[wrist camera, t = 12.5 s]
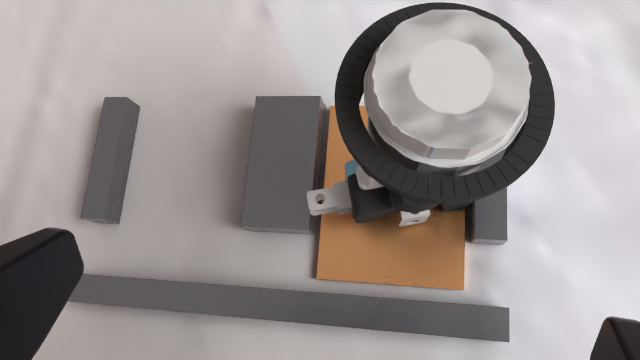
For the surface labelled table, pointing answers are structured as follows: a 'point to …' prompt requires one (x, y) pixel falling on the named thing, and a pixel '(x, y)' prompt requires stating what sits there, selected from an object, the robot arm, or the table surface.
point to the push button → (436, 113)
